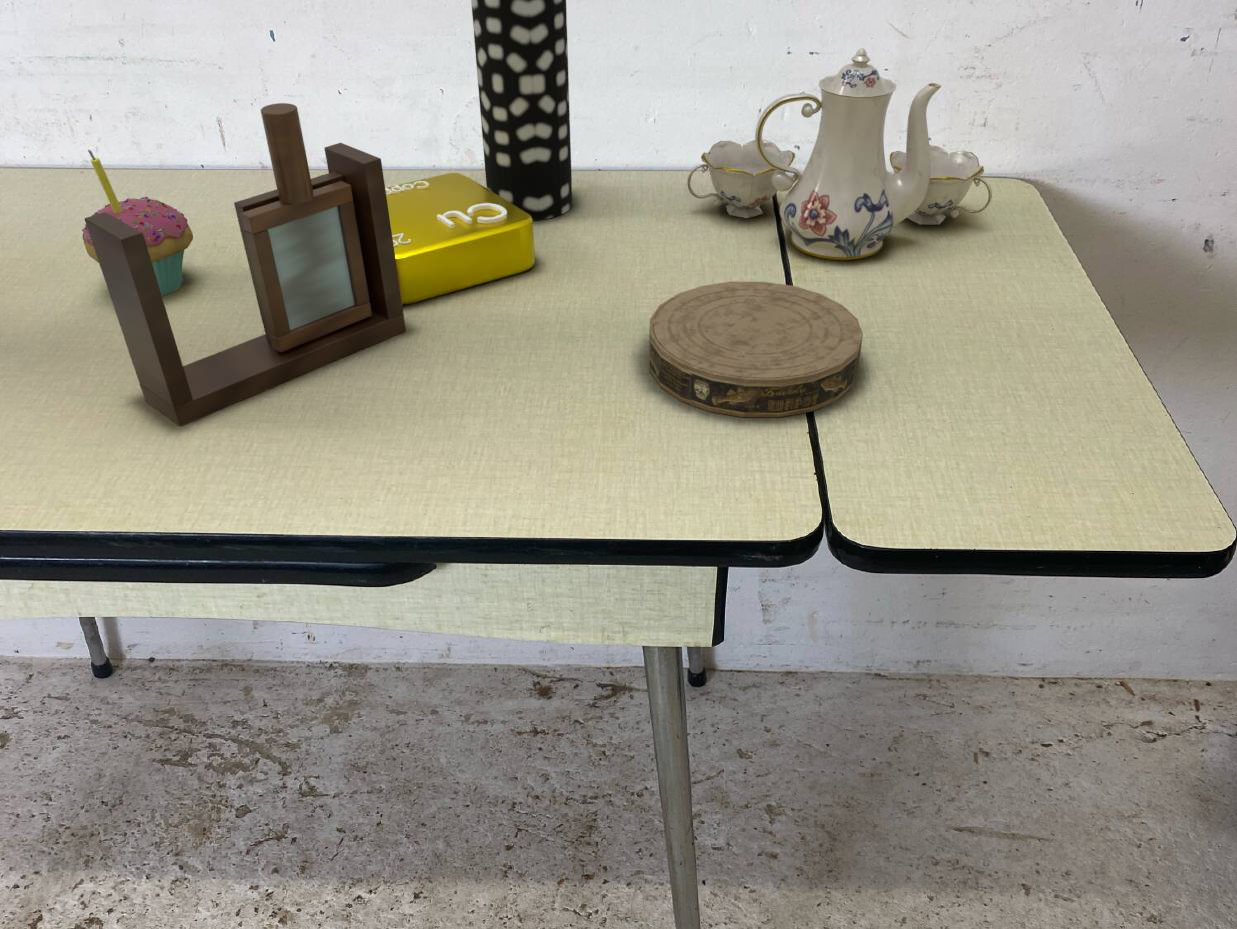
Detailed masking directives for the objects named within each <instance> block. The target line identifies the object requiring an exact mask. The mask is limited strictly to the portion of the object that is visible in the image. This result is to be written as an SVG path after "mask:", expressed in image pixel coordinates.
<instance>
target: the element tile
mask: <svg viewBox="0 0 1237 929" xmlns="http://www.w3.org/2000/svg"><path fill="white" fill-rule="evenodd" d="M385 190H386V197H387V204H388V211H389V218H390V225H391V231H392V238H393V245H394V252H395V259H396V266H397V273H398V280H399V287H400V293H401V300H402V306H403V305H411V304H414V303H418V302H422V301H425V300H428V299H432V298H435V297H439V296H443V295H446V294H450V293H454V292H457V291H460V290H465V289H468V288H471V287H475V286H478V285H482V284H485V283H489V282H492V281H496V280H499V279H503V278H506V277H510V276H514V275H517V274H520V273H523V272H526V271H528V270H530V269H531V268H532V267H533V266H534V265H535V262H536V253H535V252H536V251H535V237H534V236H535V235H534V234H535V233H534V220H532V218H531V216H530V215H529V214H528V213H526V212H525V211H523V210H521V209H520V208H518V207H516V206H515V205H513V204H512V203H510V202H508V201H507V200H505V199H503V198H502V197H500V196H498V195H497V194H495V193H494V192H492V191H490V190H489V189H487V187H486V186H484V185H482V184H481V183H480V182H478V181H476V180H474V179H473V178H471V177H469V176H467V175H465V174H462V173H459V172H449V173H448V172H447V173H444V174H440V175H435V176H430V177H426V178H422V179H418V180H414V181H409V182H405V183H400V184H395V185H392V186H388V187H386V186H385Z"/></svg>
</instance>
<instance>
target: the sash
mask: <svg viewBox="0 0 1237 929" xmlns="http://www.w3.org/2000/svg"><path fill="white" fill-rule="evenodd" d="M260 115H261V120H262V124H263V130H264V135H265V139H266V144H267V148H268V153H269V157H270V164H271V166H272V167H271V168H272V171H273V177H274V181H275V186H276V189H277V191H278V196H279V200H280V201H277V202H274V203H271V204H267V205H264V206H261V207H258V208H255V209H252V210H248V211H245V212H242V213H241V218H242V222H243V226H244V231H245V235H246V240H247V244H248V248H249V252H250V256H251V261H252V265H253V269H254V273H255V277H256V282H257V286H258V290H259V294H260V299H261V303H262V307H263V311H264V315H265V320H266V324H267V328H268V332H269V336H270V340H271V344H272V347H273V348H274V349H275V350H277V351H279V352H284V351H286V350H289V349H291V348H294V347H296V346H299V345H301V344H304V343H306V342H308V341H311V340H313V339H316V338H318V337H321V336H323V335H326V334H328V333H331V332H333V331H336V330H338V329H341V328H343V327H345V326H348V325H350V324H353V323H355V322H358V321H360V320H363V319H365V318H368V317H370V316H372V311H371V305H370V302H369V301H370V300H369V293H368V287H367V281H366V275H365V269H364V263H363V257H362V251H361V245H360V239H359V233H358V227H357V221H356V215H355V209H354V203H353V197H352V190H351V185H349V184H347V183H345V182H342V181H340V182H337V183H334V184H330V185H327V186H324V187H321V188H318V189H315V190H313V188H312V183H311V179H312V177H311V174H310V166H309V164H308V163H309V161H308V156H307V152H306V146H305V141H304V136H303V131H302V125H301V120H300V114H299V109H298V107H297V105H295V104H294V103H286V102H280V103H279V102H278V103H272V104H268V105H265V106H263V107H262V108H260Z"/></svg>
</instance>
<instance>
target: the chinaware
mask: <svg viewBox="0 0 1237 929" xmlns="http://www.w3.org/2000/svg"><path fill="white" fill-rule="evenodd" d="M870 61H871V58H870V57H869V55H868V53H867V51H866V49H865V48H862V47H861V48H859V49H858V50H857V51H856V53H855V55H853V56H852V57H851V62H852V63H848V64H846V65H844V66H843V67H842V68H840V70H839V71H838V73H837V74H834V75H827V76H825V77H824V78H822V79H819V81H818V87H819V88H820V97H821V99H819V98H818V97H817V96H816V95H814V94H812V93H807V92H805V93H801V92H799V93H790V94H786V95H782V96H780V97H778V98H776V99H775V100H773V101H771V103H770V104H769V105H767V106H766V107H765V109H764V110H763V112H762V113H761V115H760V116H759V119H758V121H757V123H756V127H755V134H754V135H755V136H754V138H755V139H754V140H751V141H748V142H746V143H743V144H741V143H737V142H735V141H732V140H720V141H718V142H716V143H714V144H712V146H711V148H710V149H709V151H708V152H705V151H704V152H702V155H701V156H700V159H701V161H702V163H701V164H697V165H695V166H694V167H693V168H692V169H691V170H690V172H689V174H688V176H687V182H686V183H687V189H688V191H689V193H690V194H691V195H692V196H693V197H695V198H697V199H700V200H701V199H706V198H708V197H713V196H714V197H715V198H716V199H715V200H714V204H713V205H714V206H715V207H720V206H721V205H722V204H723V202H725V203H727V204H728V205H726V206H725V208H726V212H727V213H728V215H729V216H734V217H738V218H745V219H749V218H752V217H756V216H759V215H763V211H762V208H760V206H762V205H764V204H765V203H767V202H768V201H770V200H772V198H773V197H774V196H775V195H776V194H777V192H778V191H779V192H781V193H782V192H783V193H784V192H787V194H786V195H785V197H784V198H783V200H782V202H781V204H780V206H779V215H780V218H781V219H782V221H783V223H784V225H785V226H786V228H788V229H789V230H790V231H791V234H790V243H791V244H792V245H793V247H795V249H797V250H798V251H800V252H801V253H803V254H805V255H809V256H812V257H814V258H815V257H816V258H819V259H824V260H831V261H853V260H861V259H865V258H868V257H871V256H874V255H876V254H877V253H879V252H880V251H881V250H882V248H883V247H884V241H883V240H884V239H885V238H886V237H888V235H890V233H891V232H892V230H893V228H894V227H896V226H897V225H899V224H900V223H901V222H903V221H904V220H905V219H908V220H910V221H911V222H914V223H916V224H917V225H941V223H943V221H944V220H945V219H946V215H945V213H947V212H949V216H950V217H951V218H952V219H956V218H958V217H959V215H960V213H959V209H960V210H963V211H965V212H967V213H970V214H979V213H981V212H983V211H985V210H986V209H987V208H988V206H989V205H990V204H991V201H992V198H993V190H992V186H991V184H990V183H989V182H988V181H987V180H986V179H984V178H983V177H982V178H981V176H982V175H983V174H984V172H985V168H984V165H980V161H979V157H978V156H977V155H975V154H974V153H973V152H972V151H966V150H960V151H953V152H950V153H949V151H946V150H945V149H943V148H941V147H940V146H938V145H932V144H930V138H929V129H928V120H927V109H928V105H929V103H930V100H931V99H932V97H934V95H935V94H936V93H937V92H938V91H939V90H940V89H941V88H942V85H941V84H939V83H936V82H935V83H934V82H931V83H928V84H926V85H925V86H924V87H923V88H921V89H920V90H919V91H918V92H916V94H915V96H914V97H913V99H912V102H911V103H910V107H909V111H908V116H907V126H906V143H905V144H906V145H905V148H906V150H905V152H904V151H901V150H896V151H892V152H890V154H889V164H890V166H891V169H892V170H893V173H891V172H889V171H888V170H887V165H886V156H885V144H884V141H885V140H884V138H885V135H884V134H885V125H886V124H885V123H886V117H887V111H888V107H889V105H890V101H891V99H892V97H893V94H894V92H895V91H896V90H897V84H896V83H894V82H893V81H892V80H891V79H887V78H884V77H882V76H880V73H879V70H878V69H877V68H876V67H875V66H874V65H872V64H869V62H870ZM801 101H811V102H813V103H815V105H816V106H815V108H813V105H812V104H811V103H810V102H806V103H804V104H803V106H802V108H801V115H802V117H803V118H806V119H809V118H811V117H812V116H813V115H815V114H817V113H819V112H820V111H821V113H820V121H819V126H818V132H817V136H816V140H815V143H814V145H813V148H812V152H811V154H810V155H809V159H808V161H807V163H806V165H805V167H804V168H803V171H802V173H801V172H800V170H799V169H798V168H796V167H794V166H791V165H792V163H793V162H794V161H795V158H796V153H795V152H793V151H792V150H790V149H789V150H781V149H780V148H779V147H778V145H776V144H775V143H774V142H772V141H768V140H766V139H763V130H764V127H765V124H766V122H767V120H768V118H769V117H770V115H772V114H773V113H774V112H775V111H776V110H777V109H778V108H779V107H781V106H783V105H785V104H788V103H793V102H801ZM698 169H701V173H703V174H705V173H706V171H707V170H708V171H709V175H710V179H711V183H712V186H713V188H714V191H715V192H709V193H706V194H697V193H696V192H695V191H694V190H693V189H692V186H691V179H692V176H693V174H694V173H695V172H696V171H697V170H698ZM787 173H791V174H793V176H792V177H791V176H790V175H789V174H787ZM981 183H982V184H984V186H985V187H986V189H987V193H988V198H987V201H986V203H985V204H984V205H983V206H982V207H980V208H978V209H971V208H968V207H966V206H965V205H959V204H960V203H961V202H962V201H963V200H964V198H965V197H966V195H967V194H968V192H969V191H970V188H971V186H972V185H973V184H974V185H975V187H976V188H977V187H979V186H980V185H981Z"/></svg>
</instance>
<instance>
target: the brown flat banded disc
mask: <svg viewBox="0 0 1237 929" xmlns="http://www.w3.org/2000/svg"><path fill="white" fill-rule="evenodd" d="M863 337H864V333H863V331H862V327H861V325H860V322H859V319H858V318H857V317H856V316H855V315H854V314H853V313H852V312H851V311H850V310H848V309H847V307H846V306H844V305H843V304H841V303H839V302H838V301H835V300H834V299H832V298H830V297H828V296H825V295H824V294H822V293H819V292H815V291H813V290H810V289H809V290H808V289H805V288H802V287H799V286H795V285H789V284H782V283H774V282H768V281H725V282H719V283H712V284H705V285H701V286H698V287H695V288H691V289H688V290H685V291H682V292H679V293H677V294H674V295H673V296H672V297H670V298H669V299H667V300H666V301H664V302H663V303H661V304H659V306H657V308H656V309H655V311H654V313H653V314H652V315H651V317H650V319H649V341H648V342H649V344H648V346H649V349H648V351H649V352H648V353H649V354H648V358H649V359H648V361H649V362H648V363H649V373H650V374H651V376H652V377H653V379H654V380H655V381H656V383H657V384H658V386H659V387H660V388H661V389H663V390H664V391H666V392H667V393H669V395H671V396H673V397H674V398H675V399H677V400H679V401H680V402H682V403H686V404H688V405H690V406H693V407H696V408H698V409H702V410H705V411H707V412H710V413H716V414H722V415H726V416H727V415H728V416H733V417H739V418H782V417H788V416H789V417H790V416H795V415H799V414H805V413H811V412H813V411H815V410H818V409H820V408H823V407H825V406H826V407H827V405H830V404H833V403H835V402H837V401H838V400H839V399H840V398H841V397H842V396H844V395H845V394H846V393H847V392H848V391H849V390H851V389H852V388H853V385H854V382H855V379H856V376H857V373H858V369H859V363H860V356H861V351H862V350H861V349H862V344H863V339H864V338H863Z"/></svg>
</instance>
